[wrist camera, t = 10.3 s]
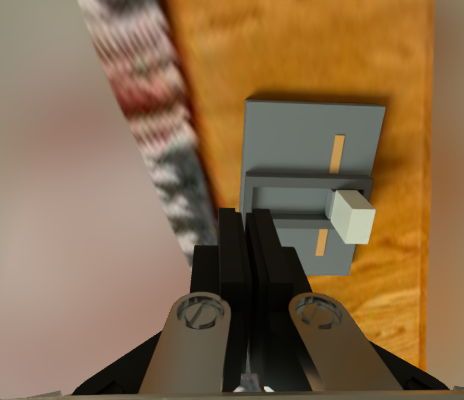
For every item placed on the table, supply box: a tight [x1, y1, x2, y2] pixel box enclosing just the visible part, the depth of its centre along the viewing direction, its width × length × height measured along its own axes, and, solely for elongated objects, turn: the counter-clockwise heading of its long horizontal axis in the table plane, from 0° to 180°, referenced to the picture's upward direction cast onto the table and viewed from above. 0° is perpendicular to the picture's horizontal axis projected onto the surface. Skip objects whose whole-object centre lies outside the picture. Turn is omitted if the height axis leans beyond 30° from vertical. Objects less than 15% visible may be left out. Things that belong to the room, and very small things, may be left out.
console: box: [239, 99, 386, 276], centre depth 41 cm, size 22×15×4 cm
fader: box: [324, 189, 376, 244], centre depth 38 cm, size 4×3×7 cm
